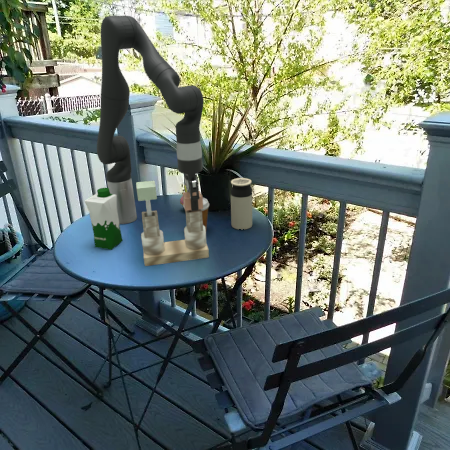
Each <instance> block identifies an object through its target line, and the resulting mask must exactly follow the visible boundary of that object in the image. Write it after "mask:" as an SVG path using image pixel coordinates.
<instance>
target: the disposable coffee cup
mask: <svg viewBox="0 0 450 450" xmlns="http://www.w3.org/2000/svg"><path fill="white" fill-rule="evenodd" d="M182 207H183V208H184V210H185V207H184V204H183V205H182ZM209 207H210V203H209V201H208V199H207V198H205V197H203V209H201V210H202V220H203V225H204V226H205V229H206V230H207V228H208V227H207V226H208V217H209V215H208V214H209Z"/></svg>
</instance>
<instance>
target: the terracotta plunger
mask: <svg viewBox="0 0 450 450" xmlns="http://www.w3.org/2000/svg"><path fill="white" fill-rule="evenodd" d="M192 195H193V196H196V193H195V192H194V193H192ZM182 196H183V204H184V207H185V209H184V211H185V210H186V211H187V210H191V200H190V194H189V193H188V192H185V191H183V192H182ZM199 197H200V198H199V199H198V207H199V209H203V198H204V197H203V194H202V193H201V191H200V190H199ZM184 207H183V208H184ZM191 211H192V210H191Z"/></svg>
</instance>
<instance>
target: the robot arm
mask: <svg viewBox="0 0 450 450" xmlns="http://www.w3.org/2000/svg"><path fill="white" fill-rule="evenodd" d="M100 47H101V49H100V51H101V85H100V87H101V88H100V112H99V113H100V116H99V127H98V134H97V141H96V153H97V159H99V162H101V164H103V165H111V164H114V165H113V166H112V167H111V168H109V170H108V171H107V172H106V174H105V176H106V177H105V178H106V183H107V188H109V191H110V194H115V195H117V213H118V219H119V225H125V224H131V223H134V222H135V221H137V219H138V216H137V215H138V214H137V209H136V201H135V196H134V194H135V193H134V188H133V187H134V186H133V181H132V161H131V160H132V159H131V150H130V145H129V142H128V141H127V139H126V138H125V136H123V135H116V136H115V133H116V131H117V129H118V127H119V126H120V124H121V122H122V121H123V119H124V118H125V116H126V114H127V113H128V110H129V104H130V95H131V94H130V92H131V91H130V86H129V84H128V82H127V80H126V78H125V75H123V73H122V71H121V69H120V62H119V61H120V60H119V55H120V54H119V53H120V50H129V49H133V50H135V51H136V52H138V54H139V55H140V56H141V57H142V64H143V69H144V72H145V74H146V76H147V77H148V79H149V80H150V81H151V82H152V83H153V84H154V85H155V87H156V88H158V90H159V91H160V94H161V96H162V98H163V100H164V102H165V104H166V106H167V107H168V109H169V110H170V111H171V112H173V113H174V114H178V115H179V114H180V115H181V114H184V115H183V118H181V120H179V121H178V122H176V124H175V137H176V157H177V158H176V159H177V169H178V172H179V173H181V174H183V175H184V176H183V177H184V178H183V180H184V185H185V186H186V190H187V192H188V193H189V194H190V200H191V210H192V211H196V210H198V209H199V207H198V199H199V198H200V197H199V191H200V187H199V177H198V175H197V174H198V173H201V172H202V171H203V151H202V150H203V149H202V145H201V135H200V131H201V130H200V125H201V120H202V116H203V115H202V114H203V109H204V95H203V93H202V91H201V89H200V88H199V87H198V86H196V85H194V84H193V85H187V86H186V85H185V86H180V84H181V77H180V75H179V74H178V73H177V71H176V70H175V69H174V68H173V67H172V66H171V65H170V64H169V63H168V62H167V61H166V59H164V58H163V56H162V55H161V54H160V52H159V51H158V49H157V48H156V47H155V45H154V44H153V42H152V40H151V39H150V37H149V36H148V33H146V31H145V30H144V29H143V27H142V26H141V24H140V23H139V22H138V20H137V19H136V18H135V17H133V16H131V15H106V16H105V17H104V18H103V19H102V21H101V24H100ZM194 192H195V193H196V196H193V195H192V193H194Z"/></svg>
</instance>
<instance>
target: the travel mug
mask: <svg viewBox="0 0 450 450" xmlns="http://www.w3.org/2000/svg"><path fill="white" fill-rule="evenodd" d="M230 184H231V188H230V216H231V217H230V219H231V221H230V223H231V227H232V228H234V229H235V230H239V229H241V230H243V229H244V230H248V229H250V228H252V226H253V188H252V186H251V184H252V180H251V179H250V178H247V177H237V178H234V179H231V180H230Z"/></svg>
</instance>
